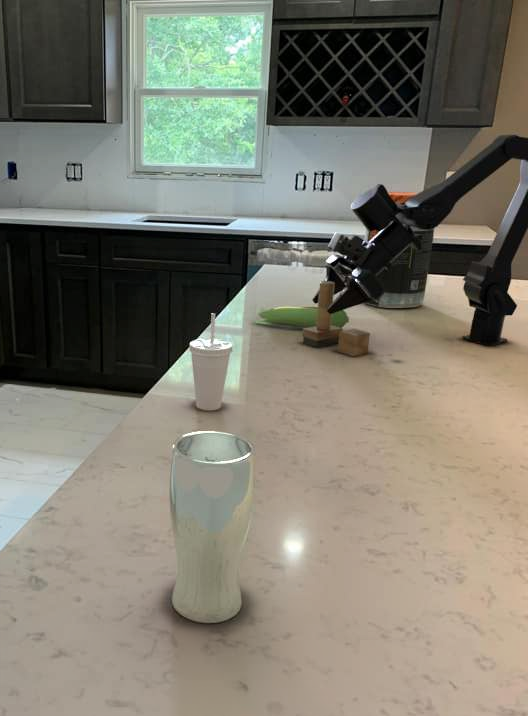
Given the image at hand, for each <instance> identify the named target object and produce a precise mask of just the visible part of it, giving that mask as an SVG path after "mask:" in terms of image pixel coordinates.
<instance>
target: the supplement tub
mask: <svg viewBox="0 0 528 716" xmlns="http://www.w3.org/2000/svg"><path fill="white" fill-rule="evenodd" d="M387 192H388V194H389V195H390V197H391V198H392V199H393V201H394V202H395V203H404V202H407V201H408V199H410V198H411V197H413V196H415V195H416V194H418V193H419V192H413V191H387ZM396 217H397V216H396ZM397 218H398V220H399V221H400V222H401V223H402V224H407V223H406V222H405V220H404V218H401V217H397ZM409 226H410V225H409ZM410 228H411V229H412V230H413V232H414V233H415V234H419V235H422V236H423V238H422V249H421V250H417V249H414V248H411V247H410V245H409V246H408V247H407V248H406V249H405V250H404V251H403V252H402V253H401V254H400V255H399V256H397V257H396V258H395V259H394V260H393V261H392V262H391V263H390V264H391V265H392V267H391V268H390V269H389V270H387V269H385V268H384V269H383V270H382V271H381V272H380V273H379V274H378V275H377V276H376V277H377V278H378V279H379V280H380V282H381V283H382V284H383V285H384V287H385V290H384V294H383V295H382V296H381V297H380V298H379V299H378V300H377V301H375V300H373V299H371V298H370V299H371V300H372V301H371V302H366V303H365V304H366V305H369V306H373V307H377V308H385V309H403V308H404V309H405V308H407V309H409V308H416V307H419V306H420V305H422V304H423V303H424V300H425V295H426V288H427V283H428V276H429V269H430V263H431V255H432V248H433V242H434V233H435V228H434V229H431V230H424V229H420V228H416V227H413V226H410ZM379 232H380V231H379ZM379 232H376V231H375V230H374V231H368V230H367V229H366V228H365V233H364V234H365V235H364V241H368V242H370V241H371V240H372V239H373V238H374V237H375V236H376V235H377V234H378V233H379Z"/></svg>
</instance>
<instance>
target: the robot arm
mask: <svg viewBox="0 0 528 716" xmlns="http://www.w3.org/2000/svg"><path fill="white" fill-rule="evenodd" d="M511 160H520V161H521V163H520V166H519V168H520V170H519V171H520V172H519V173H520V181H519V184H518V186H517V188H516V190H515V193H514V195H513V198H512V199H511V202H510V204H509V206H508V208H507V210H506V212H505V215H504V217H503V219H502V221H501V224H500V225H499V228H498V230H497V232H496V234H495V236H494V239H493V241H492V243H491V245H490V247H489V249H488V252H487V253H486V255H485V256H484V257H483V258H482V259H481V260H480V261H475V260H472V261H471V263H470V264H469V267H468V270H467V273H466V275H465V276H464V277H463V278H462V281H464V283H463V286H462V287H463V288H462V290H463V291H464V295H465V296H466V298H467V299H468V306H469V307H470V308H474V311H473V316H472V319H471V320H472V321H471V325H470V331H469V334H467V335H463V336H461V339H462V340H463V341H464V340H465V341H469V342H473V343H477V344H480V345H485V346H490V347H491V346H495V345H499V344H503V343H507V342H508V340H509V339H508V338H505V337H502V333H503V327H504V323H505V318H506V317H507V316H513V315H514V313H515V311H516V309H517V308H518V304H517V303H516V301H514V299H513V298H512V297H511V295H510V294H509V293H508V292H509V289H510V286H511V282H512V264H513V261H514V260H515V257H516V255H517V252H518V250H519V248H520V247H521V244H522V242H523V239H524V238H525V236H526V233H527V231H528V137H526V136H525V137H524V136H519V135H517V134H500V135H499V136H497V137H496V138H494V139H493V141H492V142H491V143H490V144H489V145H487V146H486V147H485V148H483V150H481V151H480V152H478V153H477V154H476V155H475V156H473V157H472V158H471V159H469V160H468V161H467V162H466V163H465V164H463V165H462V166H460V167H459V168H458V169H457V170H456V171H454V172H453V173H452V174H451V175H450V176H448V177H447V178H446V179H444V180H443V181H441V182H439V183H438V184H436V185H433V186H431V187H428V188H425V189H424V190H421V191H420V192H417V193H418V194H416V195H415V196H413V197H411V198H410V199H408V201H407V202H404V203H395V202H394V201H393V199H392V198H391V197H390V195H389V194H388V192H389V191H388V189H387V188H386V187H385V185H384V184H381V183H377V184H376V185H375V186H374V187H372V188H370V189H368V190H366V191H364V192H363V193H361V194H359V195H358V196H357V197H356V198H355V199H354V200H353V202H352V203H351V205H350V210H351V211H352V213H353V214H354V215H355V216H356V217H357V219H358V220H359V221H360V222H361V224H362V226H364V228H365V230H366V229H367V230H368V231H374V230H375V231H376V232H379V231H380V232H379V233H378V234H377V235H376V236H375V237H374V238H373V239H372V240H371V241H370V242H368V241H365V240H363V238H362V237H360V236H359V235H356V234H351V235H350V236H349V237H347V236H346V235H344V234H341V233H339V232H335V233H334V234H333V236H332V238H331V240H330V242H328V243H329V244H328V246H327V248H328V249H329V250H331V251H333V252H336V253H338V254H332V255H331V256H330V257H329V258H327V260H325V263H326V264H325V268H326V269H325V270H326V272H325V278H324V279H323V281H331V282H334V283H335V287H334V296H335V295H337V294H339V295H337V297H336V298H335V299H333V303H332V304H331V305H330V306H329V308H328V309H327V312H328V313H329V314H333V313H336V312H339V311H341V310H344V311H345V310H347V309H350V308H352V307H355V306H356V307H357V306H359V305H362V304H366V302H371V301H372V300H371V299H373V300H375V301H377V300H378V299H379V298H380V297H381V296H382V295H383V294H384V290H385V287H384V285H383V284H382V283H381V282H380V280H379V279H378V278H377V277H376V276H377V275H378V274H379V273H380V272H381V271H382V270H383V269H384V268H385V269H387V270H389V269H390V268H391V267H392V265H391V264H390V263H391V262H392V261H393V260H394V259H395V258H396V257H397V256H399V255H400V254H401V253H402V252H403V251H404V250H405V249H406V248H407V247H408V246H409V245H410V247H411V248H414V249H417V250H421V249H422V238H423V236H422V235H419V234H415V233H414V232H413V230H412V229H411V228H410V226H413V227H416V228H420V229H424V230H431V229H434V230H435V228H437V227H438V226H440V224H442V222H443V221H444V220H445V219H446V218H447V217H448V216H449V215H450V214H451V213H452V211H453V209H454V207H455V205H456V204H457V203H458V202H459V201H460V200H461V199H462V198H463V197H465V196H466V195H467V194H468V193H469V192H471V191H472V190H474V189H475V188H476V187H477V186H478V185H480V184H482V182H483V181H485V180H486V179H487V178H489V177H490V176H492V174H494V173H495V172H497V171H498V170H499V169H501V168H502V167H504V165H505V164H507V163H508V162H509V161H511ZM396 216H397V217H401V218H404V220H405V222H406V223H407V224H402V223H401V222H400V221H399V220H398V218H397V217H396ZM409 225H410V226H409ZM342 255H343V256H342ZM318 298H319V288H318V289H317V291H316V292H315V294H314V296H313V298H312V302H313V303H314V304H317V305H318ZM370 298H371V299H370Z"/></svg>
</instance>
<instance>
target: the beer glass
mask: <svg viewBox="0 0 528 716" xmlns="http://www.w3.org/2000/svg"><path fill="white" fill-rule="evenodd" d="M255 452H256V447H255V445H254V443H253V442H252V441H250V440H249V439H247V438H246V437H244V436H241V435H239V434H235V433H230V432H225V431H217V430H216V431H215V430H206V431H203V430H202V431H195V432H191V433H187V434H184V435H181V436H180V437H178V438H177V439H175V441H174V442H173V445H172V458H171V465H170V475H169V491H168V492H169V493H168V494H169V514H170V521H171V522H170V523H171V528H172V535H173V540H174V546H175V552H176V558H177V573H176V579H175V584H174V587H173V591H172V597H171V602H172V606H173V609H174V610H175V611H176V612H177V613H178V614H179V615H180V616H182V617H183V618H185V619H187V620H189V621H192V622H196V623H201V624H218V623H222V622H226V621H229V620H230V619H232V618H233V617H235V616H236V615H238V613H239V612H240V610H241V608H242V593H241V585H240V565H241V561H242V555H243V552H244V548H245V544H246V541H247V537H248V534H249V530H250V527H251V521H252V518H253V517H252V516H253V512H254V505H255V504H254V502H255V489H256V467H255V466H256V465H255V464H256V462H255V459H256V458H255V456H256V455H255Z"/></svg>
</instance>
